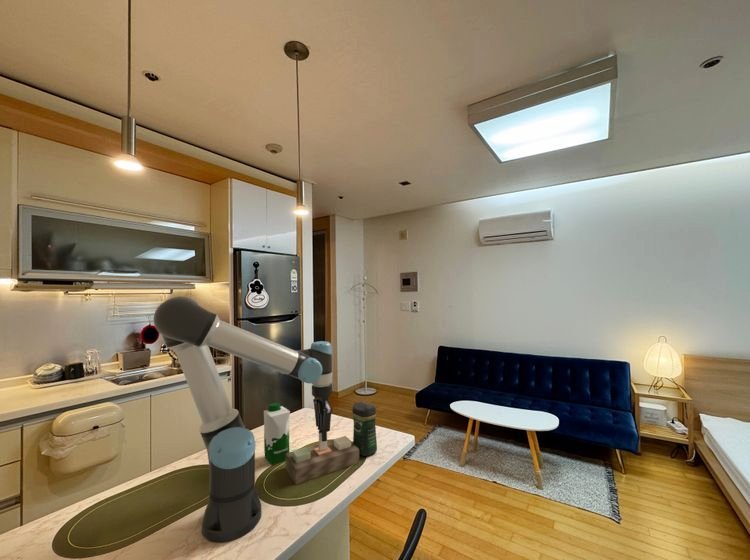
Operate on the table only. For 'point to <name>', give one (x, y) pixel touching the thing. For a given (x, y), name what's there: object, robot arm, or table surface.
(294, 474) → the button console
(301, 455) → the sage button
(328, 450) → the terracotta button
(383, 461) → the table surface
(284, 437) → the milk carton
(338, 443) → the cream button
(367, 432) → the coffee jar
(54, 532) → the table surface
